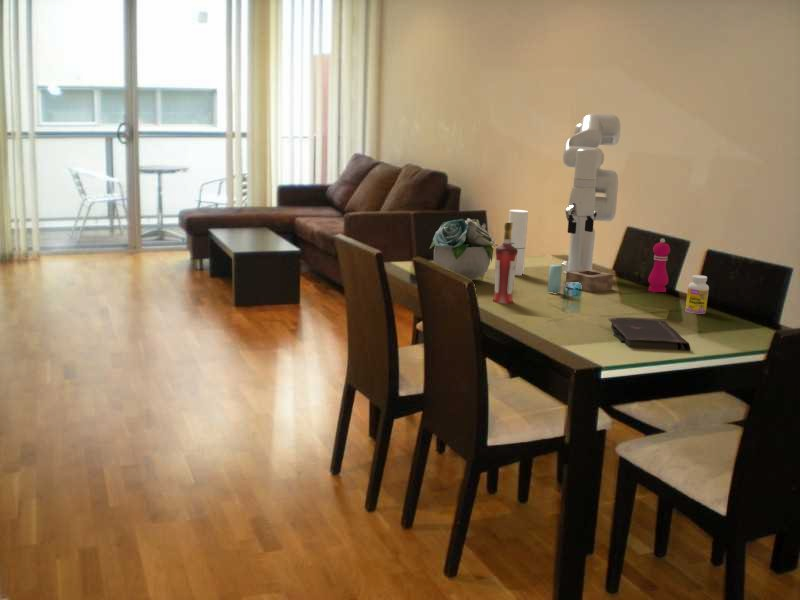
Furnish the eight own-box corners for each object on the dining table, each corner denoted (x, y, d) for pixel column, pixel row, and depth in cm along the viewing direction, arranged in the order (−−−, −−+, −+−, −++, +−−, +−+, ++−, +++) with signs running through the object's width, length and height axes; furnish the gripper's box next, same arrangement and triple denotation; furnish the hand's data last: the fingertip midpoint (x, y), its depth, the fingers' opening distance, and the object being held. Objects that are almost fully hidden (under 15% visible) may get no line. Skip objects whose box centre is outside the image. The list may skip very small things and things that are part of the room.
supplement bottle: (684, 314, 305) (688, 277, 302) (685, 310, 311) (689, 273, 308) (705, 317, 303) (709, 279, 300) (706, 312, 309) (710, 275, 306)
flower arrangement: (501, 290, 329) (506, 223, 324) (434, 290, 325) (437, 222, 320) (484, 276, 353) (488, 213, 348) (421, 275, 349) (424, 212, 343)
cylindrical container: (510, 271, 365) (515, 209, 359) (526, 274, 361) (531, 211, 355) (501, 273, 359) (506, 210, 353) (517, 276, 355) (522, 212, 349)
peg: (544, 292, 329) (547, 265, 327) (553, 291, 332) (555, 264, 330) (554, 294, 326) (556, 267, 324) (562, 293, 329) (564, 266, 327)
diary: (665, 335, 279) (666, 319, 278) (689, 359, 255) (691, 341, 254) (604, 332, 279) (605, 316, 278) (622, 356, 255) (624, 338, 254)
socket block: (565, 287, 339) (566, 271, 338) (586, 284, 347) (587, 268, 345) (590, 293, 330) (592, 277, 329) (611, 290, 338) (613, 274, 336)
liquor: (493, 301, 312) (498, 220, 305) (514, 303, 310) (520, 221, 304) (490, 306, 305) (496, 223, 298) (512, 308, 303) (518, 224, 297)
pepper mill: (662, 294, 334) (668, 240, 329) (643, 291, 338) (649, 238, 334) (670, 291, 340) (676, 238, 335) (651, 288, 344) (657, 236, 339)
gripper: (590, 182, 329) (586, 229, 333) (560, 183, 318) (556, 232, 321) (608, 184, 324) (603, 232, 327) (577, 185, 312) (573, 235, 316)
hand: (580, 232), depth 324 cm, fingers open, 9 cm apart
